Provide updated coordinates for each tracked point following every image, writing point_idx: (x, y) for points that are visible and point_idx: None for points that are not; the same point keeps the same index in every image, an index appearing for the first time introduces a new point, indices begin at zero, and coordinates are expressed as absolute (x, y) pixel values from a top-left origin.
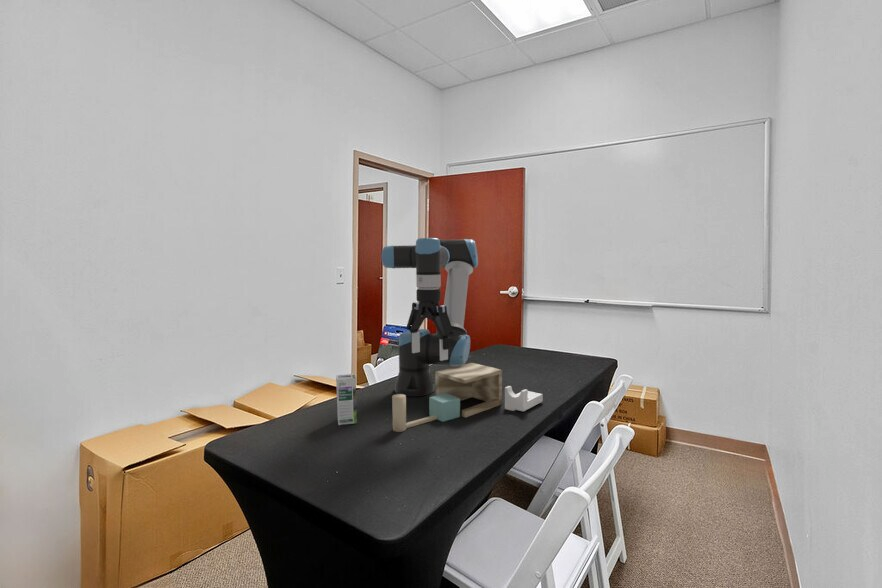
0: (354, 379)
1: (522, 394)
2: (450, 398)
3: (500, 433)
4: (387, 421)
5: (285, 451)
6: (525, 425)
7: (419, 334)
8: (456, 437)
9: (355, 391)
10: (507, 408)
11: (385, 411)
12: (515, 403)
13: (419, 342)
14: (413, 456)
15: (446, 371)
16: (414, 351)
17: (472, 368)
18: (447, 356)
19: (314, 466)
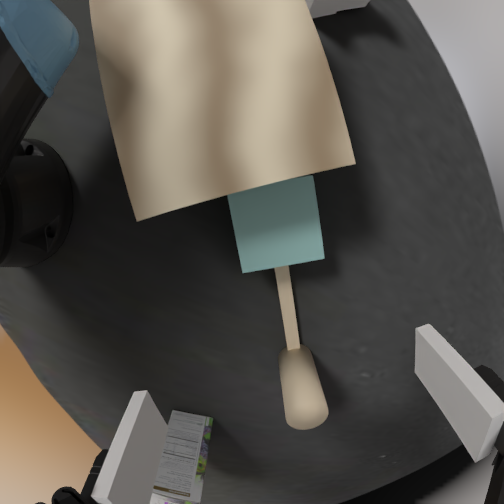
0: (199, 500)
1: None
2: (295, 208)
3: (446, 151)
4: (230, 365)
5: (277, 495)
6: (433, 66)
7: (113, 485)
8: (413, 259)
9: (203, 474)
10: (315, 16)
11: (157, 345)
12: (346, 2)
13: (131, 438)
14: None
15: (162, 167)
16: (162, 428)
17: (179, 22)
18: (438, 336)
19: (348, 474)
